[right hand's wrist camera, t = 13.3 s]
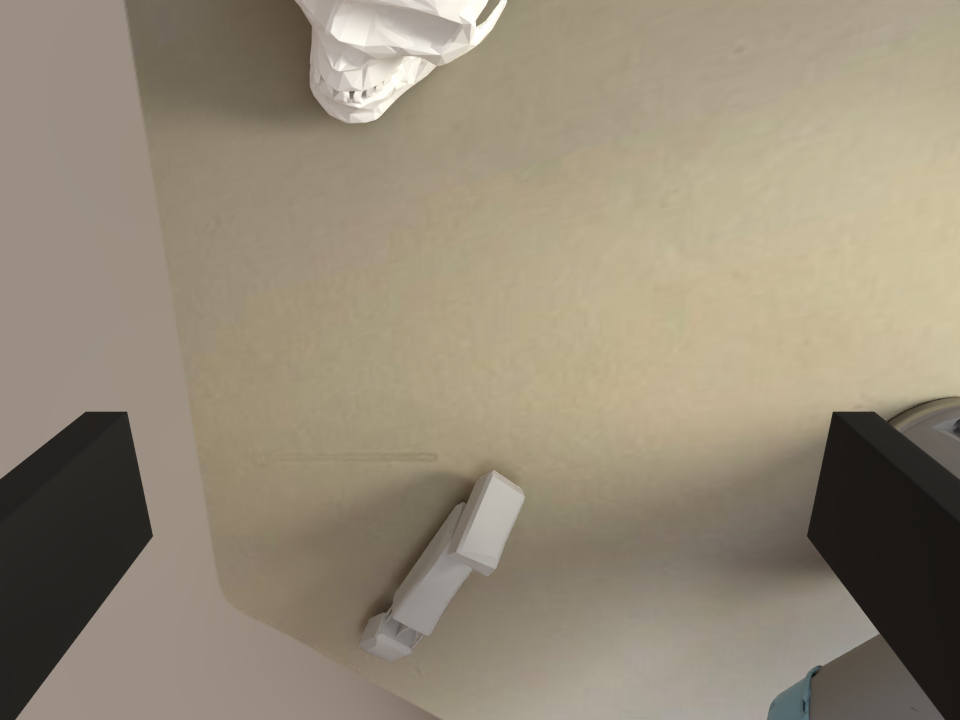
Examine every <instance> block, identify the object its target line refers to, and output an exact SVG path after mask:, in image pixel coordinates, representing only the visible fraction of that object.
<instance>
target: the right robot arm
mask: <svg viewBox="0 0 960 720" xmlns="http://www.w3.org/2000/svg"><path fill="white" fill-rule="evenodd" d="M152 537H153V534H152V529H151V525H150V520H149V515H148V510H147V505H146V501H145V496H144V491H143V486H142V482H141V477H140V472H139V467H138V462H137V457H136V453H135V448H134V443H133V438H132V433H131V429H130V424H129V419H128V414H127V412H85V413H84V414H82V415H81V416H80V417H79V418H77V419H76V420H75V421H73V422H72V423H71V424H70V425H68V426H67V427H66V428H65V429H63V430H62V431H61V432H60V433H58V434H57V435H56V436H55V437H53V438H52V439H51V440H49V441H48V442H47V443H46V444H44V445H43V446H42V447H41V448H39V449H38V450H37V451H36V452H34V453H33V454H32V455H30V456H29V457H28V458H27V459H25V460H24V461H23V462H22V463H20V464H19V465H18V466H17V467H15V468H14V469H13V470H11V471H10V472H9V473H8V474H6V475H5V476H4V477H3V478H1V479H0V720H15V719H16V718H17V717H18V715H19V714H20V713H21V711H22V710H23V709H24V707H25V706H26V705H27V703H28V702H29V701H30V699H31V698H32V697H33V695H34V694H35V693H36V691H37V690H38V689H39V687H40V686H41V685H42V683H43V682H44V681H45V679H46V678H47V677H48V675H49V674H50V673H51V671H52V670H53V669H54V667H55V666H56V665H57V663H58V662H59V661H60V659H61V658H62V657H63V655H64V654H65V653H66V651H67V650H68V649H69V647H70V646H71V645H72V643H73V642H74V641H75V639H76V638H77V637H78V635H79V634H80V633H81V631H82V630H83V629H84V627H85V626H86V625H87V623H88V622H89V621H90V619H91V618H92V617H93V615H94V614H95V613H96V611H97V610H98V609H99V607H100V606H101V605H102V603H103V602H104V601H105V599H106V598H107V597H108V595H109V594H110V593H111V591H112V590H113V589H114V587H115V586H116V585H117V583H118V582H119V581H120V579H121V578H122V577H123V575H124V574H125V573H126V571H127V570H128V569H129V567H130V566H131V565H132V563H133V562H134V561H135V559H136V558H137V557H138V555H139V554H140V553H141V551H142V550H143V549H144V547H145V546H146V545H147V543H148V542H149V541H150V539H151V538H152ZM807 537H808V538H809V539H810V541H811V542H812V543H813V545H814V546H815V547H816V549H817V550H818V551H819V553H820V554H821V555H822V557H823V558H824V559H825V561H826V562H827V563H828V565H829V566H830V567H831V569H832V570H833V571H834V573H835V574H836V575H837V577H838V578H839V579H840V581H841V582H842V583H843V585H844V586H845V587H846V589H847V590H848V591H849V593H850V594H851V595H852V597H853V598H854V599H855V601H856V602H857V603H858V605H859V606H860V607H861V609H862V610H863V611H864V613H865V614H866V615H867V617H868V618H869V619H870V621H871V622H872V623H873V625H874V626H875V627H876V629H877V630H878V631H879V633H880V634H879V635H877V636H875V637H874V638H872V639H870V640H868V641H866V642H865V643H863V644H861V645H859V646H858V647H856V648H854V649H852V650H851V651H849V652H847V653H845V654H844V655H842V656H840V657H838V658H837V659H835V660H833V661H831V662H830V663H828V664H826V665H824V666H817V667H815V668H813V669H811V670H810V671H809V672H808V674H807V676H806V677H805V678H804V679H802V680H801V681H799V682H798V683H796V684H795V685H793V686H791V687H790V688H788V689H787V690H785V691H784V692H782V693H781V694H779V695H778V696H777V697H776V698H775V699H774V700H773V702H772V703H771V705H770V709H769V713H768V718H767V720H960V397H955V398H947V399H941V400H936V401H932V402H929V403H926V404H923V405H920V406H918V407H915V408H913V409H910V410H908V411H906V412H904V413H903V414H901V415H899V416H897V417H896V418H894V419H892V420H891V421H890V422H887V421H885V420H884V419H883V418H881V417H880V416H879V415H878V414H876V413H875V412H833V414H832V419H831V424H830V428H829V433H828V438H827V443H826V448H825V453H824V457H823V462H822V467H821V472H820V477H819V481H818V486H817V491H816V496H815V501H814V505H813V510H812V515H811V520H810V525H809V529H808V534H807Z"/></svg>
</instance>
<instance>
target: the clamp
mask: <svg viewBox="0 0 960 720" xmlns="http://www.w3.org/2000/svg"><path fill="white" fill-rule="evenodd" d="M524 500H525V497H524V493H523V491H522V489H521V488H520V487H518V486H517V485H515V484H514V483H512V482H511V481H509V480H508V479H506V478H505V477H503V476H502V475H500V474H499V473H497V472H496V471H494V470H491V471H490V472H488V473H486V474H484V475H482V476H481V477H480V478H479V479H478V480H477V481H476V483H475V485H474V488H473V490H472V492H471V495H470V497H469V500H468V502H467V504H466V503H465V502H462V503H460V504H458V505H456V506H455V507H454V509H453V510H452V512H451V513H450V515H449V516H448V518H447V519H446V520H445V522H444V523H443V525H442V526H441V528H440V529H439V531H438V532H437V533H436V535H435V536H434V538H433V539H432V541H431V542H430V543H429V545H428V546H427V548H426V549H425V551H424V552H423V554H422V555H421V556H420V558H419V559H418V561H417V562H416V564H415V565H414V567H413V568H412V569H411V571H410V572H409V574H408V575H407V577H406V578H405V579H404V581H403V582H402V584H401V585H400V587H399V588H398V590H397V591H396V592H395V595H394V598H393V605H392V606H391V608H390V609H389V610H388V612H387V613H381V614H378V615H376V616H374V617H371V618H370V619H369V620H368V623H367V626H366V628H365V630H364V632H363V635H362V637H361V639H360V641H359V646H360V647H361V648H362V649H363V650H364V651H366V652H368V653H370V654H373V655H375V656H377V657H380V658H382V659H384V660H387V661H389V662H394V661H395V660H398V659H400V658H403V657H405V656H407V655H411V653H412V651H413V648H414V647H415V646H416V645H417V644H418V643H419V641H420V640H421V639H422V637H423V636H424V635H425V636H429V635H430V634H431V633H432V631H433V629H434V628H435V626H436V624H437V623H438V621H439V619H440V617H441V616H442V614H443V612H444V611H445V609H446V607H447V605H448V604H449V602H450V601H451V599H452V598H453V596H454V595H455V594H456V592H457V591H458V589H459V588H460V587H461V585H462V584H463V582H464V581H465V580H466V578H467V577H468V575H469V574H470V573H471V572H472V570H473V569H474V570H476V571H478V572H479V573H481V574H483V575H485V576H488V575H489V574H491V573H492V572H493V571H494V570H495V569H496V568H497V565H498V563H499V560H500V557H501V554H502V552H503V549H504V546H505V544H506V541H507V538H508V536H509V534H510V532H511V529H512V527H513V525H514V523H515V520H516V518H517V516H518V514H519V511H520V509H521V507H522V505H523V503H524ZM391 610H392V612H391ZM390 612H391V614H390ZM419 632H420V633H421V634H422V635H421V636H420V637H419V639H418V640H417V637H418V635H419ZM416 640H417V641H416Z"/></svg>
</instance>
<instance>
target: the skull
mask: <svg viewBox="0 0 960 720" xmlns="http://www.w3.org/2000/svg"><path fill="white" fill-rule="evenodd" d="M295 1H296V3H297V4H298V5H299V6H300V7H301V9H302V11H303V12H304V14H305V16H306V17H307V19H308V20H309V22H310V24H311V25H312V45H311V55H310V65H311V67H310V88H311V90H312V93H313V95H314V97H315V98H316V99H317V100H318V102H319V103H320V104H321V106H322V107H323V108H324V109H325V111H326V112H327V113H328V114H329V115H330V116H332V117H335V118H337V119H339V120H341V121H343V122H345V123H366V122H369V121H373V120H376V119H378V118H379V117H380V116H381V115H382V114H383V113H384V112H385V111H386V110H387V109H388V108H389V106H390V105H391V104H392V103H393V102H394V101H395V100H396V99H397V98H398V97H400V96H401V95H402V94H403V93H404V92H405V91H406V90H408V89H409V88H410V87H412V86H413V85H415V84H416V83H417V82H419V81H420V80H421V79H423V78H424V77H426V76H427V75H428V74H429V73H430V72H431V71H432V70H433V69H434V68H435V67H436V66H437V67H438V66H441V65H444V64H447V63H448V62H450V61H452V60H454V59H456V58H458V57H459V56H461V55H463V54H465V53H467V52H468V51H469V50H471V49H472V48H474V47H475V46H477V45H478V44H479V43H480V42H481V41H482V40H483V39H484V38H485V37H486V35H487V34H488V33H489V32H490V31H491V30H492V29H493V27H494V25H495V23H496V22H497V20H498V18H499V16H500V14H501V13H502V11H503V9H504V7H505V5H506V2H507V0H500V3H499V4H498V6H497V7H496V8H495V9H494V11H493V12H492V13H491V15H490V16H489V17H488V19H487V20H486V21H485V22H483V23H482V24H481V25H479V26H477V27H476V19H477V18H478V16H479V15H480V13H481V12H482V10H483V9H484V7H485V6H486V4H487V2H488V0H295ZM349 91H355V92H354V93H349Z"/></svg>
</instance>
